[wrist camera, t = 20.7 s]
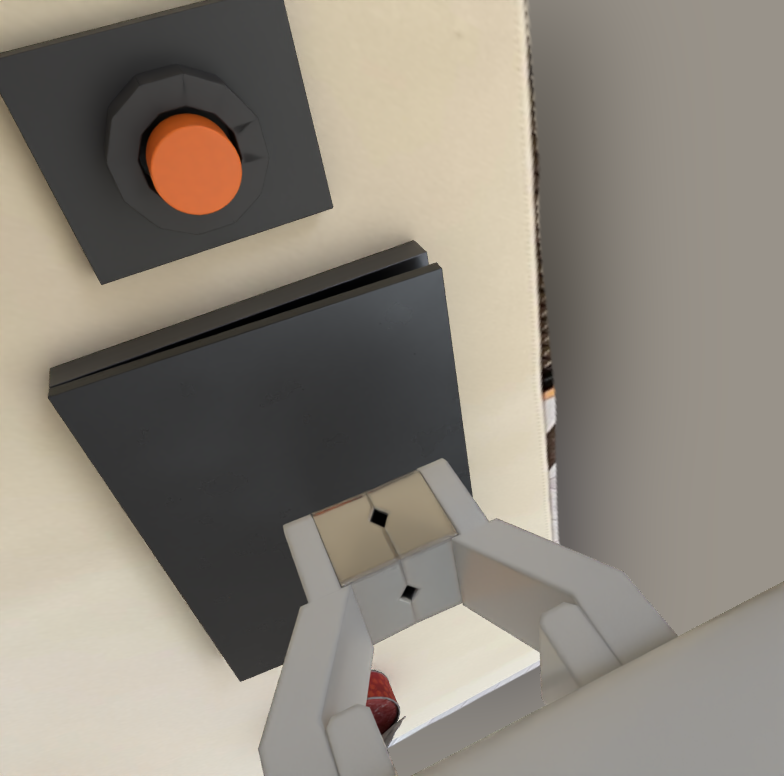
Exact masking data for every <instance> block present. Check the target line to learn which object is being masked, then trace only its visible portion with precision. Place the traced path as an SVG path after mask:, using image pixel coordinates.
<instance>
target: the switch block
mask: <svg viewBox="0 0 784 776" xmlns="http://www.w3.org/2000/svg"><path fill="white" fill-rule="evenodd" d="M0 94H1V96H2V98H3V100H4V102H5V103H6V105H7V107H8V109H9V111H10V113H11V115H12V117H13V119H14V121H15V122H16V124H17V126H18V128H19V130H20V132H21V134H22V136H23V138H24V139H25V141H26V143H27V145H28V147H29V149H30V151H31V153H32V155H33V157H34V158H35V160H36V162H37V164H38V166H39V168H40V170H41V172H42V174H43V175H44V177H45V179H46V181H47V183H48V185H49V187H50V189H51V191H52V192H53V194H54V196H55V198H56V200H57V202H58V204H59V206H60V208H61V210H62V211H63V213H64V215H65V217H66V219H67V221H68V223H69V225H70V227H71V228H72V230H73V232H74V234H75V236H76V238H77V240H78V242H79V244H80V246H81V247H82V249H83V251H84V253H85V255H86V257H87V259H88V261H89V263H90V264H91V266H92V268H93V270H94V272H95V274H96V276H97V278H98V280H99V281H100V283H101V285H103V284H106V283H109V282H112V281H115V280H118V279H121V278H124V277H127V276H130V275H133V274H136V273H139V272H142V271H145V270H148V269H151V268H154V267H157V266H160V265H163V264H166V263H169V262H172V261H175V260H178V259H181V258H184V257H187V256H190V255H193V254H196V253H199V252H202V251H205V250H208V249H211V248H214V247H217V246H220V245H223V244H226V243H229V242H232V241H235V240H238V239H241V238H244V237H247V236H250V235H254V234H257V233H260V232H263V231H266V230H269V229H272V228H275V227H278V226H281V225H284V224H287V223H290V222H293V221H296V220H299V219H302V218H305V217H308V216H311V215H314V214H317V213H320V212H323V211H326V210H329V209H332V208H333V204H332V200H331V196H330V192H329V188H328V184H327V179H326V175H325V171H324V167H323V163H322V159H321V154H320V150H319V146H318V142H317V138H316V134H315V130H314V125H313V121H312V117H311V113H310V109H309V105H308V100H307V96H306V92H305V88H304V84H303V80H302V75H301V71H300V67H299V63H298V59H297V55H296V51H295V46H294V42H293V38H292V34H291V30H290V26H289V21H288V17H287V13H286V9H285V5H284V1H283V0H205V1H201V2H198V3H194V4H190V5H186V6H182V7H178V8H174V9H170V10H166V11H162V12H159V13H155V14H151V15H147V16H143V17H139V18H135V19H131V20H127V21H124V22H120V23H116V24H112V25H108V26H104V27H100V28H96V29H92V30H88V31H85V32H81V33H77V34H73V35H69V36H65V37H61V38H57V39H53V40H50V41H46V42H42V43H38V44H34V45H30V46H26V47H22V48H18V49H14V50H11V51H7V52H3V53H0ZM182 113H191V114H197V115H200V116H203V117H205V118H208V119H209V120H211V121H213V122H214V123H215V124H216V125H218V126H219V127H220V128H221V129H222V130H223V132H224V133H225V135H226V136H227V137H228V139H229V140H230V142H231V143H232V144H233V146H234V147H235V149H236V151H237V153H238V155H239V157H240V161H241V165H242V179H241V184H240V187H239V190H238V192H237V194H236V195H235V197H234V198H233V199H232V201H231V202H230V203H229V204H228V205H226V206H225V207H224V208H222V209H220V210H218V211H216V212H214V213H210V214H205V215H192V214H187V213H183V212H181V211H178V210H176V209H175V208H173V207H171V206H170V205H168V204H167V203H166V202H165V201H164V200H163V199H162V198H161V197H160V195H159V194H158V192H157V191H156V189H155V187H154V185H153V182H152V179H151V176H150V172H149V169H148V166H147V162H146V145H147V141H148V138H149V136H150V134H151V132H152V131H153V129H154V128H155V127H156V126H157V125H158V124H159V123H160V122H161V121H163V120H164V119H166V118H168V117H170V116H173V115H176V114H182Z"/></svg>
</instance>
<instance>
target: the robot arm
mask: <svg viewBox="0 0 784 776" xmlns="http://www.w3.org/2000/svg"><path fill="white" fill-rule="evenodd" d="M312 516H313V518H312ZM312 516H311V514H309V515H307V516H304V517H302V518H299V519H297V520H294V521H292V522H289V523H287V524H284V525H283V528H284V534H285V537H286V540H287V542H288V545H289V548H290V551H291V554H292V557H293V560H294V563H295V566H296V568H297V571H298V574H299V577H300V580H301V583H302V586H303V589H304V592H305V594H306V597H307V600H308V603H307V604H305V605H303V606H301V607H300V609H299V613H298V616H297V620H296V623H295V626H294V630H293V633H292V636H291V640H290V643H289V647H288V650H287V653H286V657H285V660H284V663H283V667H282V670H281V674H280V677H279V680H278V684H277V687H276V690H275V694H274V697H273V701H272V704H271V707H270V711H269V714H268V717H267V721H266V724H265V728H264V731H263V734H262V738H261V741H260V744H259V748H258V751H259V755H260V760H261V764H262V769H263V773H264V776H398V774H397V772H396V769H395V767H394V764H393V762H392V760H391V757H390V755H389V753H388V750H387V748H386V745H385V743H384V740H383V738H382V736H381V733H380V731H379V728H378V726H377V724H376V721H375V719H374V716H373V714H372V712H371V709H370V707H367V706H366V701H367V694H368V687H369V680H370V673H371V666H372V659H373V652H374V647H373V645H374V644H376V643H378V642H380V641H382V640H384V639H386V638H388V637H390V636H392V635H394V634H396V633H398V632H400V631H402V630H404V629H406V628H408V627H410V626H412V625H414V624H416V623H417V622H420V621H422V620H425V619H427V618H429V617H431V616H434V615H436V614H438V613H440V612H443V611H445V610H447V609H450V608H452V607H454V606H456V605H459V604H461V603H463V605H464V606H465V607H467V608H469V609H470V610H472V611H474V612H475V613H477V614H478V615H480V616H482V617H483V618H485V619H486V620H488V621H490V622H491V623H493V624H495V625H496V626H498V627H499V628H501V629H503V630H504V631H506V632H508V633H509V634H511V635H512V636H514V637H516V638H517V639H519V640H520V641H522V642H524V643H525V644H527V645H529V646H530V647H532V648H533V649H535V650H537V651H538V652H540V673H541V698H542V700H543V702H544V703H545V705H546V706H544V707H542V708H540V709H538V710H537V711H535V712H533V713H531V714H529V715H527V716H525V717H523V718H521V719H519V720H517V721H515V722H514V723H511V724H510V725H508V726H506V727H504V728H502V729H500V730H498V731H496V732H494V733H492V734H490V735H488V736H487V737H485V738H483V739H481V740H479V741H477V742H475V743H473V744H471V745H469V746H467V747H465V748H464V749H462V750H460V751H458V752H456V753H454V754H452V755H450V756H448V757H446V758H445V759H442V760H441V761H439V762H437V763H435V764H433V765H431V766H429V767H427V768H425V769H423V770H421V771H420V772H418V773H416V774H414V775H412V776H784V581H783V582H781V583H780V584H778V585H776V586H774V587H772V588H770V589H768V590H766V591H764V592H762V593H760V594H759V595H757V596H755V597H753V598H751V599H749V600H747V601H745V602H743V603H741V604H739V605H737V606H736V607H734V608H732V609H730V610H728V611H726V612H724V613H722V614H720V615H718V616H716V617H715V618H713V619H711V620H709V621H707V622H705V623H703V624H701V625H699V626H697V627H696V628H693V629H692V630H690V631H688V632H686V633H684V634H682V635H680V636H677V634H676V633H675V632H674V631H673V629H672V628H671V627H670V626H669V625H668V624H667V622H666V621H665V620H664V619H663V618H662V616H661V615H660V614H659V613H658V612H657V610H656V609H655V608H654V607H653V606H652V605H651V603H650V602H649V601H648V600H647V599H646V597H645V596H644V595H643V594H642V593H641V591H639V589H638V588H637V587H636V586H635V584H634V583H633V582H632V581H631V580H630V578H629V577H628V576H627V575H626V574H625V573H624V571H621V570H619V569H617V568H614V567H612V566H610V565H607V564H605V563H602V562H600V561H598V560H595V559H593V558H591V557H588V556H586V555H583V554H581V553H578V552H576V551H574V550H571V549H569V548H567V547H564V546H562V545H559V544H557V543H555V542H552V541H550V540H548V539H545V538H543V537H540V536H538V535H536V534H533V533H531V532H528V531H526V530H524V529H521V528H519V527H516V526H514V525H512V524H509V523H507V522H504V521H502V520H500V519H497V518H496V519H494V520H491V521H488V519H487V518H486V516H485V515H484V513H483V512H482V511H481V509H480V508H479V506H478V505H477V503H476V502H475V500H474V499H473V498H472V496H471V495H470V493H469V492H468V490H467V489H466V488H465V486H464V485H463V483H462V482H461V480H460V479H459V478H458V476H457V475H456V473H455V472H454V470H453V469H452V467H451V466H450V465H449V463H448V462H447V461H446V460H445V459H443V458H441V459H439V460H436V461H434V462H432V463H429V464H427V465H425V466H422V467H420V468H418V469H417V470H415V469H414V470H412V471H410V472H408V473H405V474H403V475H401V476H398V477H396V478H394V479H392V480H389V481H387V482H385V483H382V484H380V485H378V486H376V487H373V488H371V489H369V490H366V491H364V493H361V494H359V495H356V496H354V497H351V498H349V499H346V500H344V501H341V502H338V503H336V504H333V505H331V506H328V507H326V508H323V509H321V510H318V511H316V512H313V513H312ZM313 519H314V520H313ZM315 524H316V525H315Z"/></svg>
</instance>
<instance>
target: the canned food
mask: <svg viewBox="0 0 784 776" xmlns="http://www.w3.org/2000/svg"><path fill="white" fill-rule="evenodd" d="M366 706H367V707H370V709H371V712H372V714H373V716H374V719H375V721H376V724H377V726H378V728H379V731H380V733H381V736H382V738H383V740H384V743H385V745H386V748H388V746H389V744H390V742H391V741H392V739H393V736H394V734H395V732H396V730H397V729H398V728H399V726H400V725H401V723H402V720H403V719H404V718H405V717H406V716H404V717H403V718H402V719H401V720H399V721H398V719H399V715H400V707H399V705H398V703H397V701H396V698H395V696H394V694H393V691H392V689H391V686H390V684H389V681H388V679H387V677H386V676H385V675H384V674H382V673H380V672H378V671H374V670H371V673H370V680H369V687H368V694H367V701H366ZM397 721H398V722H397Z"/></svg>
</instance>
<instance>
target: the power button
mask: <svg viewBox="0 0 784 776" xmlns="http://www.w3.org/2000/svg"><path fill="white" fill-rule="evenodd" d="M146 162H147V166H148V169H149V172H150V176H151V179H152V182H153V185H154V187H155V189H156V191H157V192H158V194H159V195H160V197H161V198H162V199H163V200H164V201H165V202H166V203H167V204H168V205H170V206H171V207H173V208H175V209H176V210H178V211H181V212H183V213H187V214H192V215H205V214H210V213H214V212H216V211H218V210H220V209H222V208H224V207H225V206H226V205H228V204H229V203H230V202H231V201H232V199H233V198H234V197H235V195H236V194H237V192H238V190H239V187H240V184H241V179H242V165H241V161H240V157H239V155H238V153H237V151H236V149H235V147H234V146H233V144H232V143H231V142H230V140H229V139H228V137H227V136H226V135H225V133H224V132H223V130H222V129H221V128H220V127H219V126H218V125H216V124H215V123H214V122H213V121H211V120H209V119H208V118H205V117H203V116H200V115H197V114H191V113H182V114H176V115H173V116H170V117H168V118H166V119H164V120H163V121H161V122H160V123H159V124H158V125H157V126H156V127H155V128H154V129H153V131H152V132H151V134H150V136H149V138H148V141H147V145H146Z"/></svg>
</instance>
